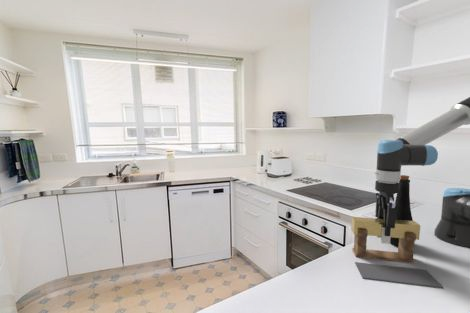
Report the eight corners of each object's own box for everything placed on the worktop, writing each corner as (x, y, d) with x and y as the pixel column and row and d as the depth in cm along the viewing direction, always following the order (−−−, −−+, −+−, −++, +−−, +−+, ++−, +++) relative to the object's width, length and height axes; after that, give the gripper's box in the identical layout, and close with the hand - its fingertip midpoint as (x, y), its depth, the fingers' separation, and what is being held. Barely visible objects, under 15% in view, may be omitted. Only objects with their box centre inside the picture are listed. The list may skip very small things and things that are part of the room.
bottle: (385, 235, 106) (390, 172, 102) (414, 242, 99) (421, 175, 96) (382, 245, 98) (388, 176, 94) (414, 253, 91) (420, 179, 88)
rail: (413, 234, 88) (414, 221, 87) (419, 239, 84) (420, 225, 83) (351, 229, 93) (351, 216, 92) (353, 234, 89) (354, 220, 88)
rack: (406, 254, 90) (409, 227, 89) (415, 263, 84) (418, 234, 83) (351, 249, 95) (353, 223, 93) (356, 257, 89) (357, 229, 87)
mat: (426, 270, 80) (426, 269, 80) (443, 288, 71) (443, 287, 71) (354, 263, 85) (355, 262, 85) (362, 278, 77) (362, 277, 76)
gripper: (368, 176, 95) (365, 229, 98) (385, 186, 78) (380, 250, 81) (388, 176, 93) (384, 231, 96) (410, 187, 77) (404, 252, 80)
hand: (383, 239), depth 89 cm, fingers closed on rail, 4 cm apart
